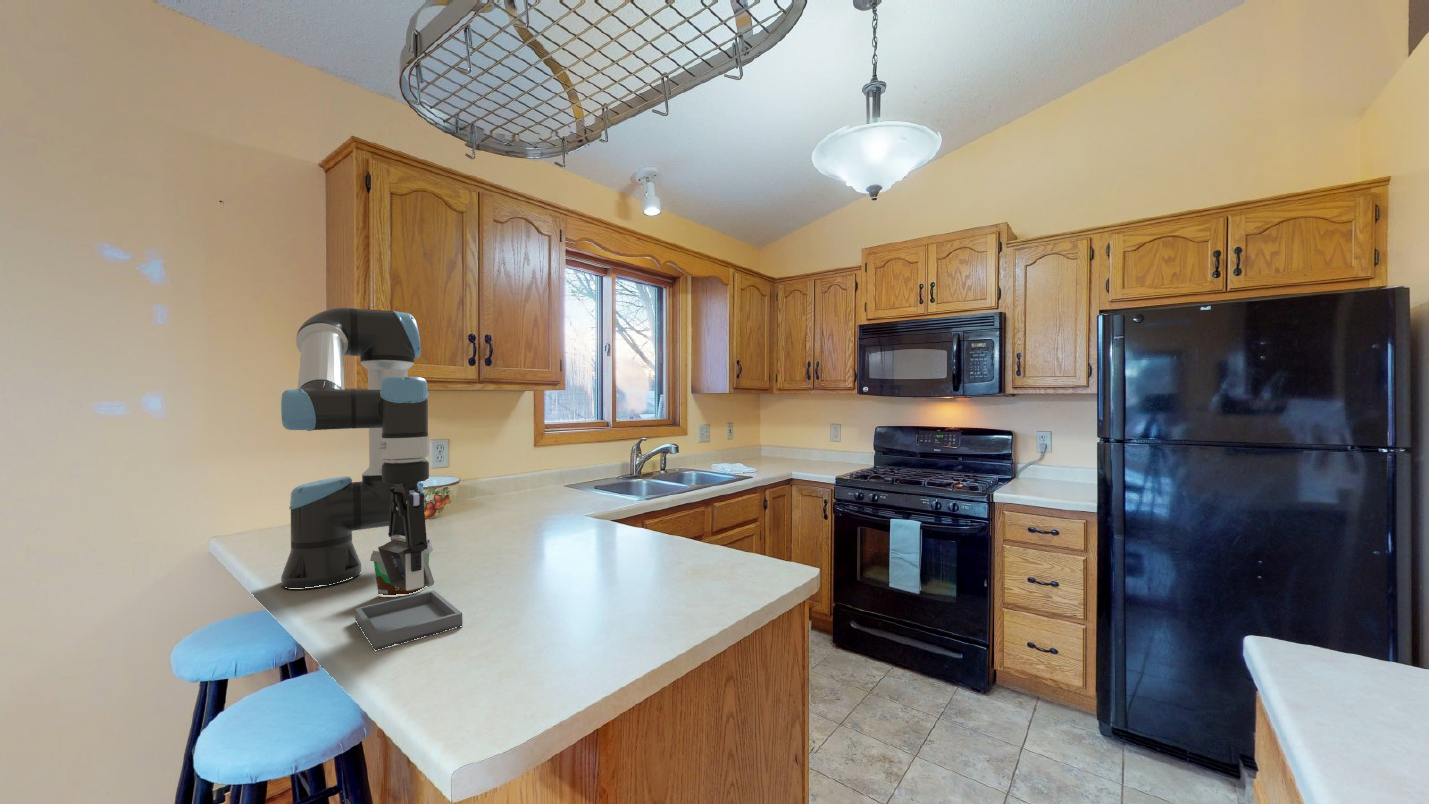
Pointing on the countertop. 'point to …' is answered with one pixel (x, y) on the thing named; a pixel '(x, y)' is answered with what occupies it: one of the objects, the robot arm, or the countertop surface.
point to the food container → (382, 577)
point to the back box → (407, 619)
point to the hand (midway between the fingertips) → (407, 581)
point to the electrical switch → (400, 562)
